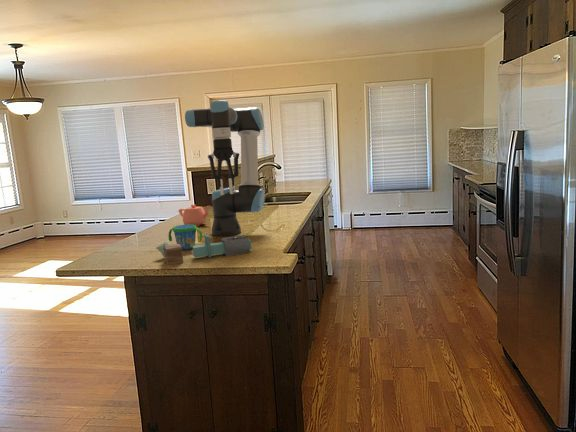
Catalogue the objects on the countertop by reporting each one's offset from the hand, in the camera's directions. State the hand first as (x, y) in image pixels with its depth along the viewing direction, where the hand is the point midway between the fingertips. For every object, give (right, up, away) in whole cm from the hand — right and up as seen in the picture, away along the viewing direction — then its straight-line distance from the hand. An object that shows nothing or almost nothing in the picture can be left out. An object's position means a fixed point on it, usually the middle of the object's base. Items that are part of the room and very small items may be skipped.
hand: (226, 194), depth 196 cm
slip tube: (-1, -26, -3) cm, 26 cm away
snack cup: (-20, -24, +13) cm, 34 cm away
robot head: (-25, -27, -2) cm, 37 cm away
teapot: (-27, -15, +73) cm, 79 cm away
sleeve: (+4, -25, -1) cm, 25 cm away
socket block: (-20, -28, -10) cm, 36 cm away
